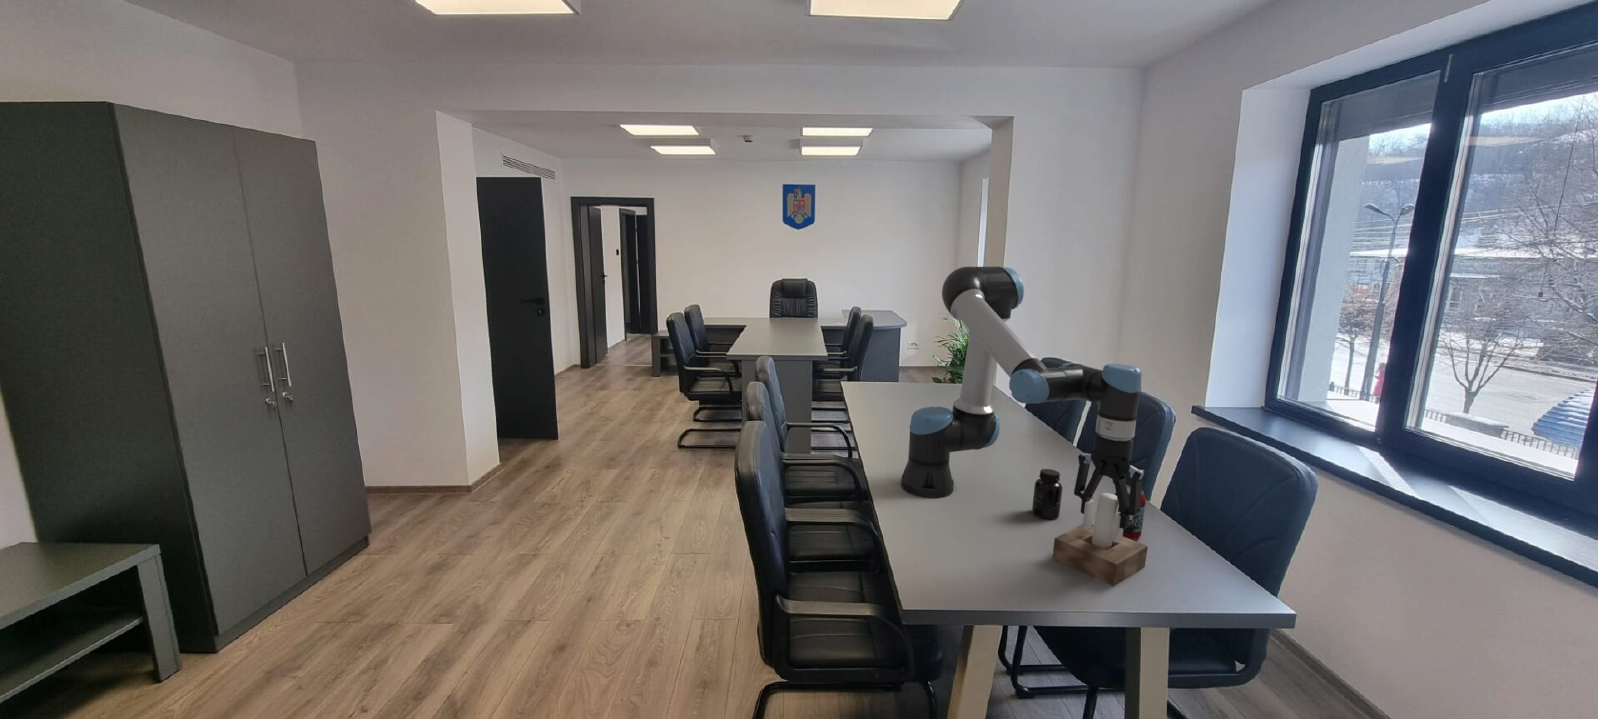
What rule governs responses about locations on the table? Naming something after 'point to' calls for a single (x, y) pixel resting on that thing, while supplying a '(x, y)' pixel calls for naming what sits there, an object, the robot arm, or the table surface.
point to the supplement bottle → (1047, 495)
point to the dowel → (1105, 521)
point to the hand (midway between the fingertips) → (1101, 533)
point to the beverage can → (1135, 519)
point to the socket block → (1099, 555)
